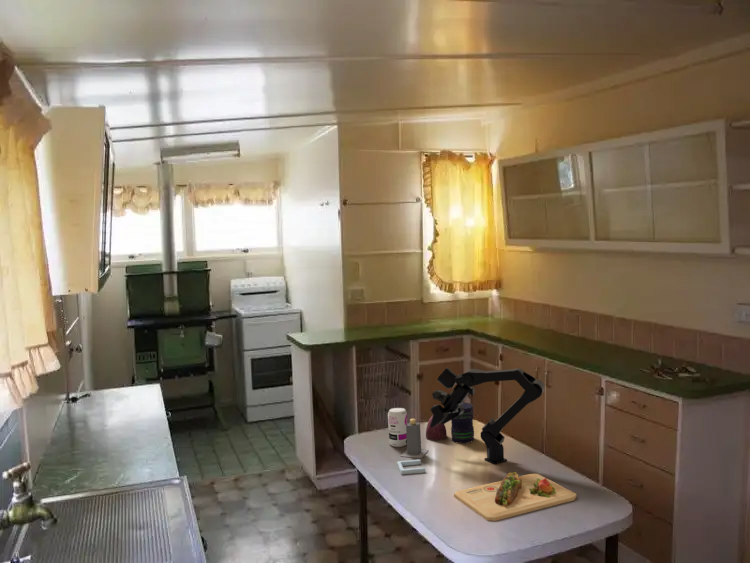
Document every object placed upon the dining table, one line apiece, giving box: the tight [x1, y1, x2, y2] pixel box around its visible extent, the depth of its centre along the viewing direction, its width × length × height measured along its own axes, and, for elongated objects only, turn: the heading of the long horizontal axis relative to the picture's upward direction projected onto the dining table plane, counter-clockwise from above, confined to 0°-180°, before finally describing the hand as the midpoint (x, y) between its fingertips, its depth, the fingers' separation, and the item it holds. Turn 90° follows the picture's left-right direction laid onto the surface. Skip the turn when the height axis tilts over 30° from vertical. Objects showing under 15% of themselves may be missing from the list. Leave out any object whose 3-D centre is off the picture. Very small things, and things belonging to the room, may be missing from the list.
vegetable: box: [425, 415, 448, 441], centre depth 285 cm, size 10×9×14 cm
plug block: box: [406, 418, 422, 455], centre depth 267 cm, size 4×4×14 cm
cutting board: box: [453, 471, 577, 522], centre depth 220 cm, size 35×23×8 cm
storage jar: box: [450, 402, 475, 444], centre depth 281 cm, size 10×10×15 cm
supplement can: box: [387, 407, 408, 448], centre depth 279 cm, size 8×8×15 cm
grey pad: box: [400, 449, 429, 459], centre depth 267 cm, size 9×9×1 cm
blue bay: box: [396, 458, 426, 475], centre depth 251 cm, size 9×10×2 cm
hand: (436, 425), depth 263 cm, fingers open, 9 cm apart
